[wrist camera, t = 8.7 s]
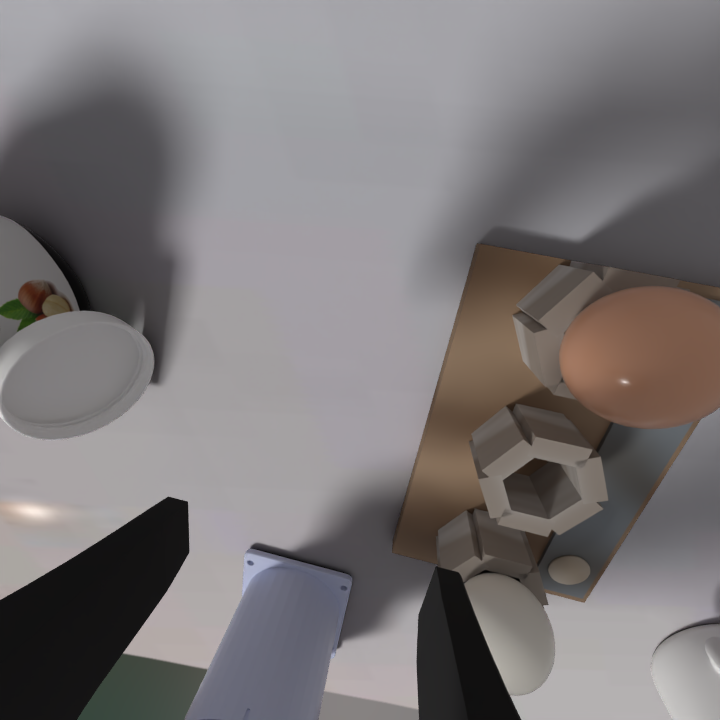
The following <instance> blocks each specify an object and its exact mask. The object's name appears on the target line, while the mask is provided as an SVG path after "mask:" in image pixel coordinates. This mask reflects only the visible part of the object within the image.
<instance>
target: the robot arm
mask: <svg viewBox="0 0 720 720" xmlns="http://www.w3.org/2000/svg"><path fill="white" fill-rule="evenodd" d="M188 554H189V522H188V502H187V501H183V500H179V499H175V498H171V497H167V498H165V499H164V500H162V501H161V502H159V503H158V504H156V505H154V506H153V507H151V508H150V509H148V510H147V511H145V512H144V513H142V514H141V515H139V516H138V517H136V518H135V519H133V520H131V521H130V522H128V523H127V524H125V525H124V526H122V527H121V528H119V529H118V530H116V531H115V532H113V533H111V534H110V535H108V536H107V537H105V538H104V539H102V540H100V541H99V542H97V543H96V544H94V545H92V546H91V547H89V548H88V549H86V550H85V551H83V552H81V553H80V554H78V555H77V556H75V557H73V558H72V559H70V560H68V561H67V562H65V563H63V564H62V565H60V566H58V567H57V568H55V569H53V570H52V571H50V572H48V573H46V574H45V575H43V576H41V577H40V578H38V579H36V580H35V581H33V582H31V583H30V584H28V585H26V586H24V587H23V588H21V589H19V590H17V591H16V592H14V593H12V594H10V595H8V596H7V597H5V598H3V599H1V600H0V720H77V719H78V717H79V715H80V714H81V712H82V711H83V709H84V707H85V706H86V705H87V703H88V702H89V700H90V699H91V697H92V696H93V694H94V693H95V691H96V689H97V688H98V687H99V685H100V684H101V683H102V681H103V680H104V678H105V677H106V676H107V674H108V673H109V672H110V670H111V669H112V667H113V666H114V664H115V663H116V662H117V660H118V659H119V658H120V656H121V655H122V653H123V652H124V651H125V649H126V648H127V646H128V645H129V644H130V642H131V641H132V639H133V638H134V637H135V635H136V634H137V633H138V631H139V630H140V628H141V627H142V626H143V624H144V623H145V621H146V620H147V619H148V617H149V616H150V614H151V613H152V611H153V610H154V609H155V607H156V606H157V604H158V603H159V602H160V600H161V599H162V597H163V596H164V594H165V593H166V592H167V590H168V588H169V587H170V585H171V583H172V582H173V580H174V578H175V577H176V575H177V573H178V571H179V570H180V568H181V566H182V564H183V562H184V561H185V559H186V557H187V555H188ZM351 586H352V577H351V576H350V575H348V574H345V573H341V572H338V571H334V570H330V569H326V568H323V567H319V566H315V565H311V564H308V563H304V562H300V561H296V560H293V559H289V558H285V557H281V556H278V555H274V554H270V553H266V552H263V551H259V550H255V549H248V550H247V551H246V553H245V556H244V572H243V589H242V599H241V601H240V603H239V605H238V607H237V609H236V611H235V614H234V616H233V618H232V620H231V622H230V624H229V626H228V628H227V630H226V633H225V635H224V637H223V639H222V641H221V643H220V645H219V647H218V649H217V652H216V654H215V656H214V658H213V660H212V662H211V664H210V666H209V668H208V671H207V673H206V675H205V677H204V679H203V681H202V683H201V685H200V688H199V689H198V692H197V694H196V696H195V698H194V700H193V702H192V704H191V706H190V708H189V711H188V713H187V715H186V717H185V719H184V720H318V719H319V714H320V709H321V704H322V698H323V694H324V689H325V684H326V679H327V674H328V668H329V663H330V659H331V658H334V657H335V653H336V649H337V645H338V641H339V637H340V632H341V628H342V624H343V620H344V615H345V611H346V607H347V603H348V599H349V594H350V590H351ZM417 683H418V705H419V720H521V718H520V716H519V714H518V712H517V710H516V708H515V706H514V704H513V701H512V699H511V697H510V695H509V693H508V691H507V688H506V686H505V684H504V682H503V679H502V677H501V675H500V672H499V670H498V668H497V666H496V663H495V661H494V659H493V656H492V654H491V652H490V649H489V647H488V645H487V642H486V640H485V637H484V635H483V632H482V630H481V627H480V625H479V622H478V620H477V617H476V615H475V612H474V609H473V607H472V604H471V602H470V599H469V596H468V593H467V591H466V588H465V585H464V582H463V579H462V577H461V575H460V573H459V572H456V571H452V570H448V569H444V568H441V567H437V566H436V568H435V571H434V574H433V576H432V579H431V582H430V585H429V587H428V590H427V593H426V596H425V598H424V601H423V604H422V607H421V609H420V612H419V617H418V638H417Z"/></svg>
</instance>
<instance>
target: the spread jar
mask: <svg viewBox="0 0 720 720" xmlns="http://www.w3.org/2000/svg"><path fill="white" fill-rule="evenodd" d="M153 370H154V353H153V350H152V348H151V345H150V343H149V342H148V341H147V339H146V338H145V337H144V336H143V335H142V334H141V333H140V332H138V331H137V330H136V329H134V328H133V327H131V326H130V325H128V324H127V323H126V322H124V321H123V320H121V319H119V318H117V317H115V316H113V315H109V314H105V313H102V312H95V311H91V310H90V305H89V302H88V299H87V296H86V294H85V291H84V289H83V287H82V285H81V283H80V281H79V280H78V278H77V276H76V275H75V274H74V272H73V271H72V269H71V268H70V267H69V265H68V264H67V263H66V262H65V261H64V260H63V258H62V257H61V256H60V255H59V254H58V253H57V252H56V251H55V250H54V249H53V248H52V247H51V246H50V245H49V244H48V243H46V242H45V241H44V240H43V239H42V238H40V237H39V236H38V235H36V234H35V233H34V232H32V231H31V230H29V229H28V228H26V227H25V226H23V225H21V224H19V223H17V222H15V221H13V220H11V219H9V218H7V217H4V216H1V215H0V417H1V418H2V419H3V420H4V421H5V422H6V423H7V424H8V425H9V426H10V427H11V428H12V429H13V430H15V431H16V432H18V433H20V434H22V435H24V436H27V437H31V438H34V439H40V440H63V439H70V438H74V437H79V436H82V435H85V434H88V433H91V432H94V431H96V430H98V429H100V428H102V427H104V426H106V425H108V424H110V423H111V422H113V421H114V420H116V419H118V418H119V417H120V416H122V415H123V414H124V413H125V412H127V411H128V410H129V409H130V408H131V407H132V406H133V405H134V404H135V403H136V402H137V401H138V400H139V398H140V397H141V396H142V394H143V393H144V392H145V390H146V388H147V386H148V384H149V382H150V380H151V377H152V374H153Z"/></svg>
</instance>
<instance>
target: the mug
mask: <svg viewBox="0 0 720 720" xmlns="http://www.w3.org/2000/svg"><path fill="white" fill-rule="evenodd" d="M651 674H652V678H653V681H654V683H655V686H656V688H657V690H658V692H659V694H660V697H661V699H662V701H663V702H664V704H665V706H666V708H667V710H668V712H669V714H670V716H671V718H672V720H720V624H708V625H701V626H696V627H692V628H689V629H686V630H683V631H680V632H678V633H676V634H674V635H672V636H670V637H669V638H667V639H666V640H665V641H663V642H662V643H661V644H660V645H659V646H658V648H657V649H656V650H655V652H654V654H653V657H652V661H651Z"/></svg>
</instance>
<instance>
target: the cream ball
mask: <svg viewBox="0 0 720 720" xmlns="http://www.w3.org/2000/svg"><path fill="white" fill-rule="evenodd" d="M464 585H465V588H466V591H467V593H468V596H469V599H470V602H471V604H472V607H473V609H474V612H475V615H476V617H477V620H478V622H479V625H480V627H481V630H482V632H483V635H484V637H485V640H486V642H487V645H488V647H489V649H490V652H491V654H492V656H493V659H494V661H495V663H496V666H497V668H498V670H499V672H500V675H501V677H502V679H503V682H504V684H505V686H506V688H507V691H508V693H509V695H513V696H518V695H525V694H529V693H531V692H533V691H535V690H536V689H538V688H539V687H540V686H542V684H543V683H544V682H545V681H546V680H547V678H548V676H549V674H550V672H551V670H552V667H553V664H554V658H555V640H554V634H553V629H552V626H551V623H550V620H549V618H548V616H547V613H546V612H545V610H544V608H543V606H542V605H541V603H540V602H539V601H538V599H537V598H536V597H535V596H534V594H533V593H532V592H531V591H530V590H529V589H528V588H526V587H525V586H524V585H523V584H521V583H520V582H519V581H517V580H515V579H513V578H511V577H509V576H506V575H503V574H499V573H482V574H479V575H476V576H474V577H472V578H470V579H469V580H468V581H467V582H465V583H464Z"/></svg>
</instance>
